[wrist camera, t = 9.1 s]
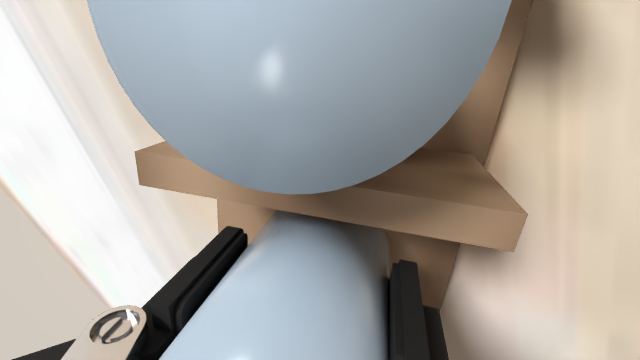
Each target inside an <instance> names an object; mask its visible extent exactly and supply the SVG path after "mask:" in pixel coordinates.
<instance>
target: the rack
mask: <svg viewBox="0 0 640 360" xmlns="http://www.w3.org/2000/svg"><path fill="white" fill-rule="evenodd" d="M532 2H533V0H512V1H511V4H510V7H509V10H508V13H507V16H506V19H505V22H504V25H503V28H502V31H501V33H500V36H499V39H498V41H497V43H496V45H495V47H494V49H493V52H492V54H491V56H490V58H489V60H488V62H487V64H486V66H485V68H484V70H483V72H482V74H481V75H480V77H479V78H478V80H477V82H476V83H475V85H474V86H473V88H472V90H471V91H470V93H469V94H468V96H467V98H466V99H465V100H464V102H463V103H462V104H461V105H460V107H459V108H458V109H457V110H456V112H455V113H454V114H453V115H452V117H451V118H450V119H449V120H448V122H447V123H446V124H445V125H444V126H443V127H442V128H441V129H440V130H439V131H438V132H437V133H436V134H435V135H434V136H433V137H432V138H431V139H430V140H429V141H427V142H426V143H425V144H424V145H423V146H422V147H420V148H419V149H418V150H416V151H415V152H414V153H413V154H411V155H410V156H409V157H407V158H406V159H405V160H403V161H402V162H400V163H398V164H397V165H395V166H393V167H392V168H390V169H388V170H387V171H385V172H383V173H381V174H380V175H377V176H375V177H372V178H370V179H368V180H365V181H363V182H361V183H358V184H356V185H352V186H349V187H345V188H341V189H338V190H334V191H328V192H321V193H315V194H279V193H270V192H264V191H259V190H255V189H251V188H247V187H243V186H241V185H238V184H235V183H232V182H230V181H227V180H224V179H222V178H220V177H218V176H216V175H214V174H212V173H210V172H208V171H206V170H204V169H203V168H201V167H200V166H198V165H197V164H195V163H193V162H192V161H190V160H189V159H187V158H186V157H184V156H183V155H182V154H181V153H180V152H178V151H177V150H176V149H175V148H173V147H172V146H171V145H170V144H169V143H167V142H166V141H165V142H162V143H159V144H156V145H153V146H150V147H147V148H144V149H141V150H138V151H135V157H136V164H137V171H138V178H139V185H143V186H148V187H154V188H159V189H165V190H171V191H176V192H182V193H187V194H193V195H198V196H204V197H209V198H215V199H217V208H218V232H219V233H220V232H221V231H222V230H223V229H224V228H225V227H226V226H232V227H237V228H242V229H243V231H244V233H246V234H247V235H248V245H249V244H250V243H251V242H252V240H253V239H254V238H255V236H256V235H257V234H258V233H259V231H260V230H261V229H262V228H263V226H264V225H265V224H266V222H267V221H268V220H269V219H270V217H271V216H272V215H273V214H274V212H275V211H276V210H282V211H287V212H293V213H299V214H304V215H310V216H315V217H321V218H326V219H332V220H338V221H343V222H349V223H354V224H360V225H365V226H371V227H376V228H382V229H383V230H384V232H385V235H386V238H387V240H388V245H389V278H390V273H391V268H392V264H393V262H394V263H399V260H400V259H401V260H406V261H412V262H416V263H417V266H418V274H419V281H420V288H421V296H422V303H423V305H425V306H430V307H434V308H437V309H438V310H439V312H440V308H441V305H442V302H443V298H444V295H445V292H446V288H447V285H448V282H449V278H450V275H451V272H452V268H453V265H454V262H455V258H456V255H457V252H458V248H459V245H460V243H466V244H471V245H477V246H482V247H488V248H493V249H499V250H505V251H510V252H514V249H515V247H516V244H517V242H518V239H519V236H520V234H521V231H522V228H523V226H524V223H525V221H526V218H527V215H528V214H527V213H526V212H525V211H524V210H523V209H522V208H521V207H520V205H519V204H518V203H517V202H516V201H515V200H514V199H513V198H512V197H511V196H510V195H509V194H508V193H507V192H506V190H505V189H504V188H503V187H502V186H501V185H500V184H499V183H498V182H497V181H496V180H495V179H494V178H493V177H492V176H491V174H490V173H489V172H488V171H487V170H486V169H485V168H484V167H483V165H484V162H485V158H486V155H487V152H488V148H489V145H490V142H491V138H492V135H493V132H494V128H495V125H496V122H497V118H498V115H499V112H500V108H501V105H502V102H503V98H504V95H505V92H506V88H507V85H508V82H509V78H510V75H511V72H512V68H513V65H514V62H515V58H516V55H517V52H518V48H519V45H520V42H521V38H522V35H523V32H524V28H525V25H526V22H527V18H528V15H529V12H530V8H531V5H532Z"/></svg>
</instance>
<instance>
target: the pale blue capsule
mask: <svg viewBox="0 0 640 360" xmlns="http://www.w3.org/2000/svg"><path fill="white" fill-rule="evenodd" d="M511 1H512V0H87V2H88V7H89V11H90V14H91V17H92V20H93V23H94V26H95V29H96V33H97V36H98V38H99V41H100V43H101V45H102V48H103V50H104V52H105V55H106V57H107V60H108V62H109V64H110V66H111V68H112V69H113V71H114V73H115V75H116V77H117V79H118V81H119V83H120V84H121V86H122V88H123V89H124V91H125V92H126V94H127V95H128V97H129V98H130V100H131V101H132V103H133V104H134V106H135V107H136V108H137V109H138V111H139V112H140V113H141V114H142V116H143V117H144V118H145V119H146V121H147V122H148V123H149V124H150V126H151V127H152V128H153V129H154V130H155V131H156V132H157V133H158V134H159V135H160V136H161V137H162V138H163V139H164V140H165V141H166V142H167V143H169V144H170V145H171V146H172V147H173V148H175V149H176V150H177V151H178V152H180V153H181V154H182V155H183V156H184V157H186V158H187V159H189V160H190V161H192V162H193V163H195V164H197V165H198V166H200V167H201V168H203V169H204V170H206V171H208V172H210V173H212V174H214V175H216V176H218V177H220V178H222V179H224V180H227V181H230V182H232V183H235V184H238V185H241V186H243V187H247V188H251V189H255V190H259V191H264V192H270V193H279V194H315V193H321V192H328V191H334V190H338V189H341V188H345V187H349V186H352V185H356V184H358V183H361V182H363V181H365V180H368V179H370V178H372V177H375V176H377V175H380V174H381V173H383V172H385V171H387V170H388V169H390V168H392V167H393V166H395V165H397V164H398V163H400V162H402V161H403V160H405V159H406V158H407V157H409V156H410V155H411V154H413V153H414V152H415V151H416V150H418V149H419V148H420V147H422V146H423V145H424V144H425V143H426V142H427V141H429V140H430V139H431V138H432V137H433V136H434V135H435V134H436V133H437V132H438V131H439V130H440V129H441V128H442V127H443V126H444V125H445V124H446V123H447V122H448V120H449V119H450V118H451V117H452V115H453V114H454V113H455V112H456V110H457V109H458V108H459V107H460V105H461V104H462V103H463V102H464V100H465V99H466V98H467V96H468V94H469V93H470V91H471V90H472V88H473V86H474V85H475V83H476V82H477V80H478V78H479V77H480V75H481V74H482V72H483V70H484V68H485V66H486V64H487V62H488V60H489V58H490V56H491V54H492V52H493V49H494V47H495V45H496V43H497V41H498V39H499V36H500V33H501V31H502V28H503V25H504V22H505V19H506V16H507V13H508V10H509V7H510V4H511Z"/></svg>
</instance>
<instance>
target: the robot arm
mask: <svg viewBox="0 0 640 360" xmlns="http://www.w3.org/2000/svg"><path fill="white" fill-rule="evenodd" d="M247 247H248V235H247V234H246V233H244V231H243V229H242V228H237V227H232V226H226V227H225V228H224V229H223V230H222V231H221V232H220V233H219V234H218V235H217V236H216V237H215V238H214V239H213V240H212V241H211V242H210V243H209V244H208V245H207V246H206V247H205V248H204V249H203V250H202V251H201V252H200V253H199V254H198V255H197V256H196V257H194V258H192V259H191V260H190V261H189V262H188V263H187V264H186V265H185V266H184V267H183V268H182V269H181V270H180V271H179V272H178V273H177V274H176V275H175V276H174V277H173V278H172V279H171V280H170V281H169V282H168V283H167V284H166V285H165V286H164V287H162V288H161V289H160V290H159V291H158V292H157V293H156V294H155V295H154V296H153V297H152V298H151V299H150V300H149V301H148V302H147V303H146V304H145V305H144V306H143V307H142V308H139V307H137V306H130V305H128V306H119V307H116V308H112V309H110V310H108V311H105V312H103V313H101V314H100V315H98V316H97V317H96V318H94V319H93V320H92V321H91V322H90V323H89V324H88V325H87V326H86V327H85V329H84V330H83V331H82V333H81V334H80V335H79V336H78V338H77V339H74V340H71V341H68V342H65V343H62V344H59V345H55V346H52V347H49V348H47V349H44V350H41V351H37V352H34V353H31V354H28V355H25V356H22V357H19V358H16V359H12V360H159V359H160V357H161V356H162V355H163V353H164V352H165V351H166V350H167V348H168V347H169V346H170V345H171V343H172V342H173V341H174V339H175V338H176V337H177V336H178V334H179V333H180V332H181V331H182V329H183V328H184V327H185V325H186V324H187V323H188V322H189V320H190V319H191V318H192V317H193V315H194V314H195V313H196V311H197V310H198V309H199V308H200V306H201V305H202V304H203V303H204V301H205V300H206V299H207V297H208V296H209V295H210V294H211V292H212V291H213V290H214V289H215V287H216V286H217V285H218V283H219V282H220V281H221V280H222V278H223V277H224V276H225V275H226V273H227V272H228V271H229V269H230V268H231V267H232V266H233V264H234V263H235V262H236V261H237V259H238V258H239V257H240V255H241V254H242V253H243V252H244V250H245V249H246V248H247ZM389 360H449V358H448V353H447V348H446V343H445V338H444V333H443V328H442V323H441V318H440V313H439V310H438V309H437V308H434V307H430V306H425V305H423V303H422V296H421V288H420V281H419V274H418V266H417V263H416V262H412V261H406V260H401V259H400V260H399V263H394V262H393V264H392V268H391V273H390V278H389Z"/></svg>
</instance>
